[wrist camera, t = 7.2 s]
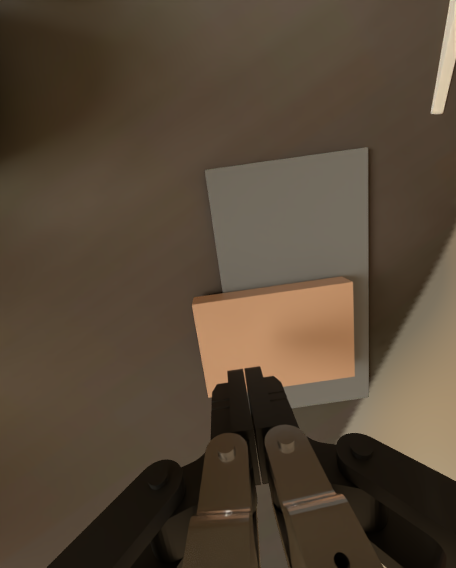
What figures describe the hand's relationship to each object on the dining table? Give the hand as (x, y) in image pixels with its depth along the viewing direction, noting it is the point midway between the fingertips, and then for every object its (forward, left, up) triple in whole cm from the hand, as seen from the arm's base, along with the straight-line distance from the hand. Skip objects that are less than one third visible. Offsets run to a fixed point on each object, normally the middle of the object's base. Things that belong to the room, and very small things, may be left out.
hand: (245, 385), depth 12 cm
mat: (-2, +4, -6) cm, 7 cm away
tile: (0, -2, -4) cm, 5 cm away
